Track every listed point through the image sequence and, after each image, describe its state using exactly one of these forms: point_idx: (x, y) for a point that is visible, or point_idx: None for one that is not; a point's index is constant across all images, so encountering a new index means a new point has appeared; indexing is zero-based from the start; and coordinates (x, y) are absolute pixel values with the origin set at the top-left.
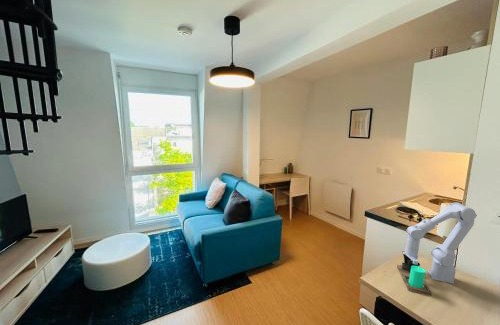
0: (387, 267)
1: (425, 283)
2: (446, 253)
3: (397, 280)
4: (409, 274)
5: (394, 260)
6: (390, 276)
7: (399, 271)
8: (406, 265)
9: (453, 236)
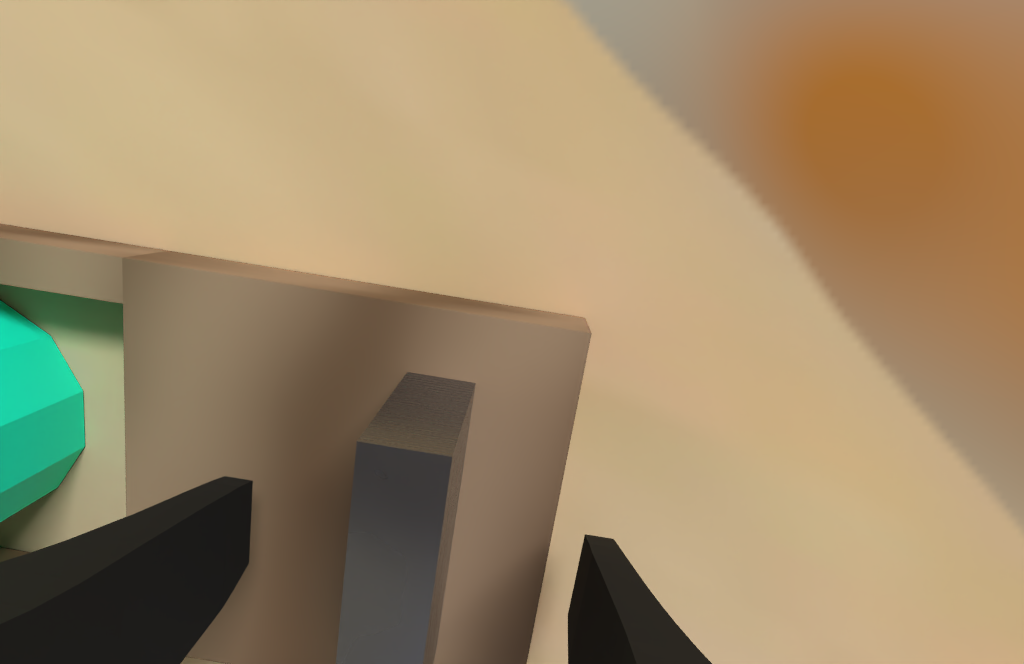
0: (510, 47)
1: None
2: None
3: (17, 91)
4: (233, 451)
5: (876, 382)
6: None
7: (370, 287)
8: (355, 524)
9: None
